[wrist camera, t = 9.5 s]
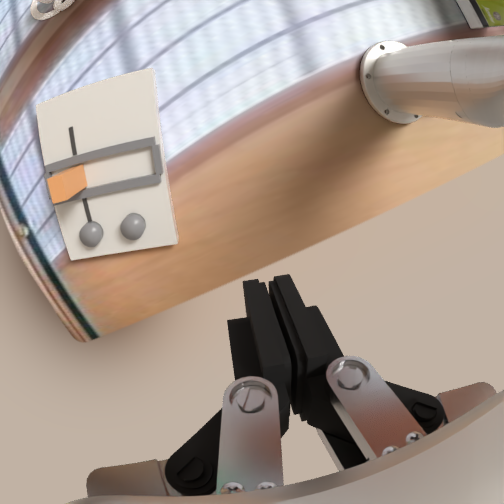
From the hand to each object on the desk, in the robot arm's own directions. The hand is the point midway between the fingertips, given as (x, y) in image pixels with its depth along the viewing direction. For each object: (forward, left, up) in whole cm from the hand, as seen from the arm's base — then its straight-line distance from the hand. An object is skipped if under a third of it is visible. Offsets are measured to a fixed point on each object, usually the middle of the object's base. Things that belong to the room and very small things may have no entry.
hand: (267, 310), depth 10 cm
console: (+15, -3, -27) cm, 31 cm away
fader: (+18, -3, -25) cm, 31 cm away
